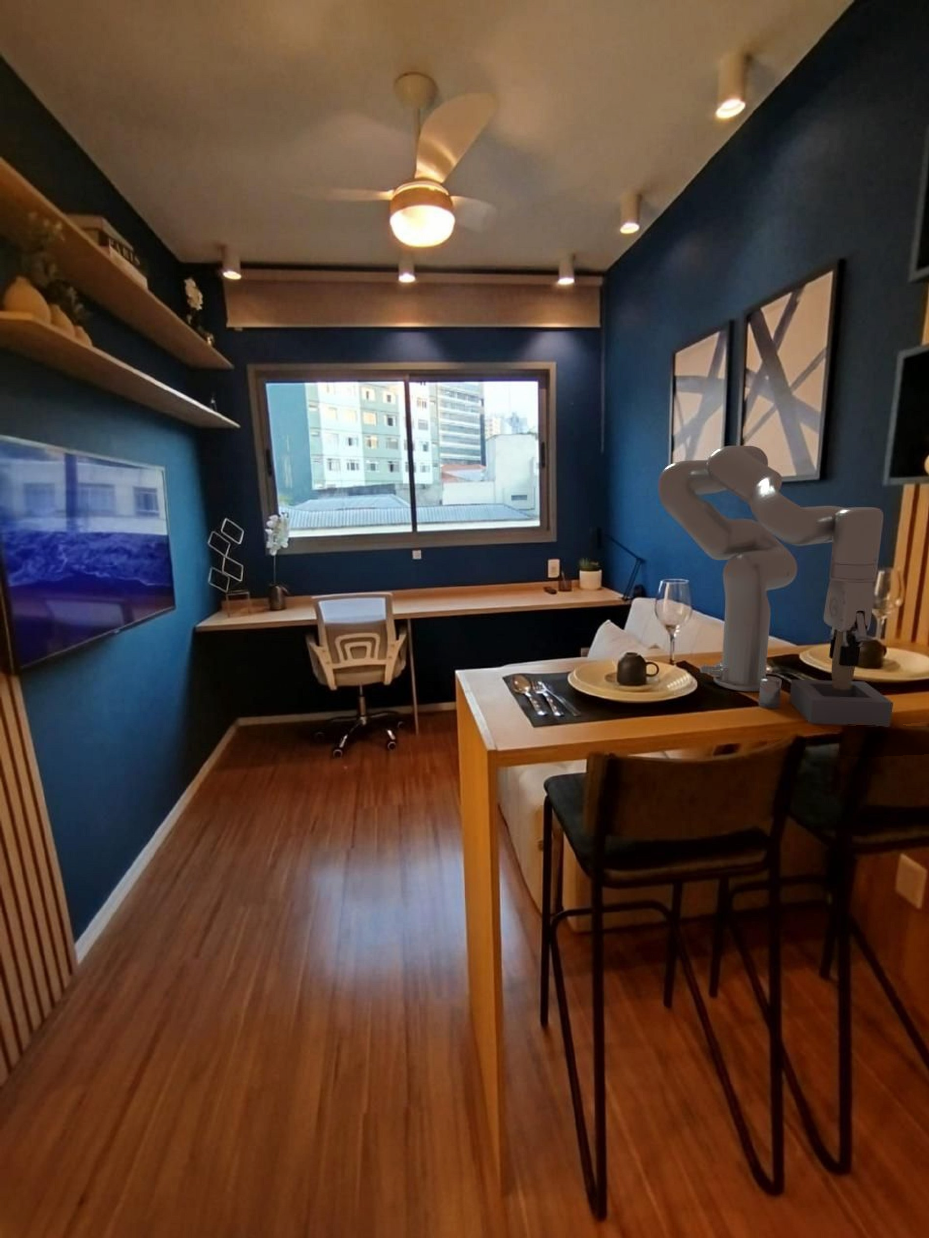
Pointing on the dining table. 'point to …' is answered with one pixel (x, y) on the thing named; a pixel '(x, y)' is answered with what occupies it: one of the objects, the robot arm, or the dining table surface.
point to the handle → (841, 673)
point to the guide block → (840, 703)
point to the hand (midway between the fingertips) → (843, 661)
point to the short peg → (769, 692)
